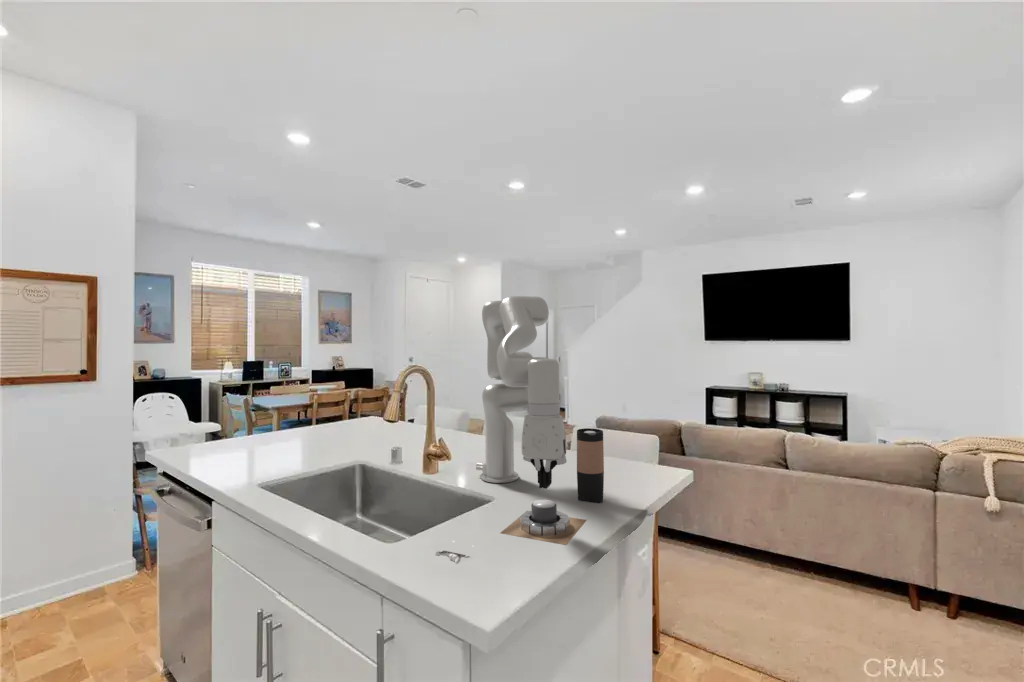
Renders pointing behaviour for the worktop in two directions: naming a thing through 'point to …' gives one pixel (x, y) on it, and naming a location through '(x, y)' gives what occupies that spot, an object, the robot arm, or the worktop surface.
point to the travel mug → (590, 465)
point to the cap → (544, 512)
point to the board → (559, 539)
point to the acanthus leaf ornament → (451, 555)
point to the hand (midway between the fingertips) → (544, 486)
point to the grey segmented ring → (545, 525)
